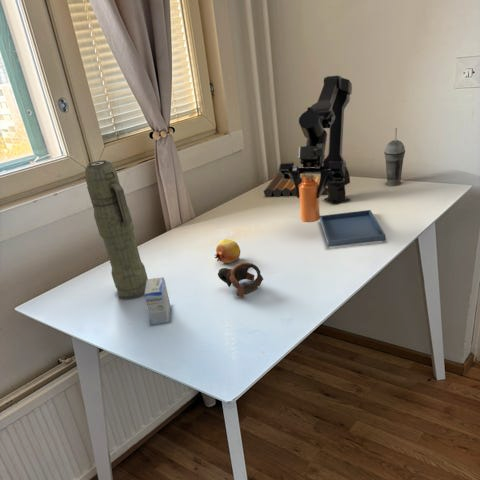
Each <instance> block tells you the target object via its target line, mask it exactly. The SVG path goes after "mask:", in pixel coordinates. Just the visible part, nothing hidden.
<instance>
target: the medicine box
mask: <svg viewBox="0 0 480 480" xmlns="http://www.w3.org/2000/svg"><path fill="white" fill-rule="evenodd" d="M143 296H144V301H145V305H146V308H147V312H148V316H149V319H150V323H151V325H160V324H166V323H170V318H171V317H170V316H171V312H170V311H171V303H170V297H169V293H168V289H167V284H166V280H165V278H164V277H162V276H161V277H154V278H148V280H147V281H146V287H145V292H144V294H143Z"/></svg>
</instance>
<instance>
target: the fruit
mask: <svg viewBox="0 0 480 480" xmlns="http://www.w3.org/2000/svg"><path fill="white" fill-rule="evenodd" d="M215 253H216V254H214V259H216V262H222V263H223V264H231V263H233V262H235V261H236V260H238V259H239V258H240V256H241V248H240V246H239V244H238V243H237V242H236V241H234V240H232V239H228V238H224V239H222V240H220V242H218V244H217V246H216V248H215Z"/></svg>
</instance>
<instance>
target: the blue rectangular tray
mask: <svg viewBox="0 0 480 480" xmlns="http://www.w3.org/2000/svg"><path fill="white" fill-rule="evenodd" d="M319 222H320V226H321V229H322V231H323V234H324V237H325V240H326V244H327V246H328V248H329V247H337V246H338V247H339V246H345V245H355V244H362V243H363V244H364V243H372V242H380V241H386V238H387V237H386V233H385V231H384V230H383V228H382V226H381V225H380V223H379V222H378V220H377V218H376V217H375V215H374V213H373V212H372V210H371V209H366V210H365V209H364V210H358V211H349V212H341V213H333V214H332V213H331V214H324V215H320V219H319Z"/></svg>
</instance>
